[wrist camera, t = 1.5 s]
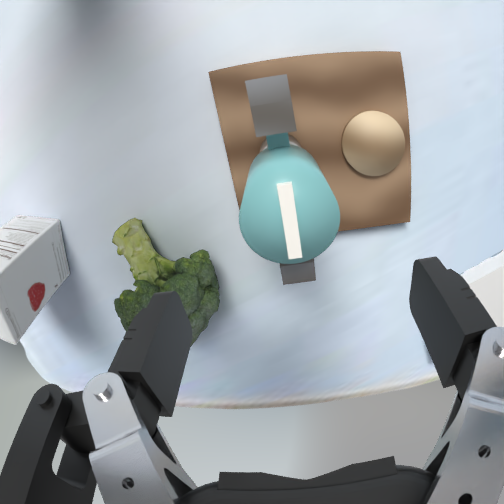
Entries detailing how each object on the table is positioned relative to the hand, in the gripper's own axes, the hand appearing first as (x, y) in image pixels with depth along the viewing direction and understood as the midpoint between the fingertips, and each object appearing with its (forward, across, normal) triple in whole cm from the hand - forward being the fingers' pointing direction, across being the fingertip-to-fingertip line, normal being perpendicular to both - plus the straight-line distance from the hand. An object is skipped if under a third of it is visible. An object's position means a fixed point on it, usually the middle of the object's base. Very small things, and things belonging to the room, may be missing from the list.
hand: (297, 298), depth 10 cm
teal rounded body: (+13, 0, 0) cm, 13 cm away
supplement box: (+23, +34, +5) cm, 41 cm away
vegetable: (+23, +15, +11) cm, 29 cm away
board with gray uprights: (+22, -4, 0) cm, 23 cm away
